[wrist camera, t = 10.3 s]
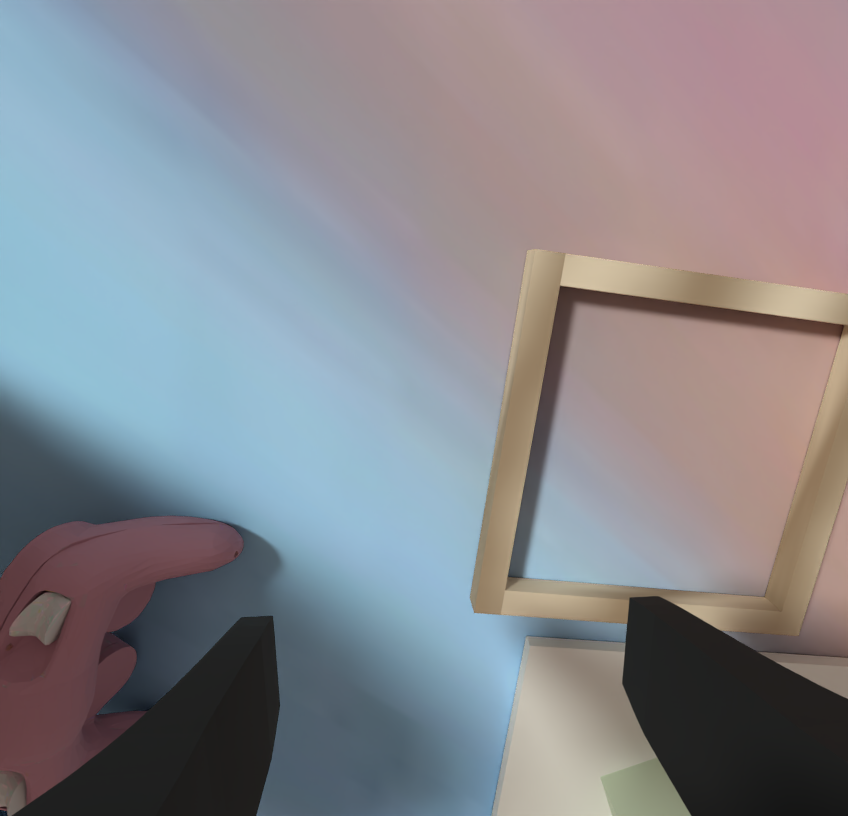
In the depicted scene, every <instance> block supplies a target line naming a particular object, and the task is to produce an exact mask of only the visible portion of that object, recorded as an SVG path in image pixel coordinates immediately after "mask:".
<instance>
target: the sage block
mask: <svg viewBox="0 0 848 816" xmlns="http://www.w3.org/2000/svg"><path fill="white" fill-rule="evenodd" d="M600 778H601V781H602V784H603V788H604V791H605V794H606V797H607V801H608V804H609V807H610V810H611V814H612V816H691V815H690V813H689V811H688V809H687V808H686V806H685V804H684V803H683V801H682V799H681V798H680V796H679V794H678V792H677V791H676V789H675V787H674V786H673V784H672V782H671V780H670V779H669V777H668V775H667V774H666V772H665V770H664V768H663V767H662V765H661V763H660V762H659V760H658V758H654V759H651V760H648V761H645V762H642V763H639V764H637V765H634V766H631V767H628V768H625V769H622V770H619V771H616V772H613V773H610V774H607V775H604V776H601V777H600Z"/></svg>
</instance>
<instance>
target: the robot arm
mask: <svg viewBox="0 0 848 816" xmlns="http://www.w3.org/2000/svg"><path fill="white" fill-rule="evenodd" d="M622 685H623V687H624V689H625V692H626V694H627V697H628V699H629V702H630V704H631V706H632V709H633V711H634V713H635V716H636V718H637V720H638V722H639V725H640V727H641V729H642V731H643V733H644V735H645V737H646V739H647V741H648V742H649V744H650V746H651V748H652V749H653V751H654V753H655V755H656V756H657V758H658V760H659V762H660V763H661V765H662V767H663V768H664V770H665V772H666V774H667V775H668V777H669V779H670V780H671V782H672V784H673V786H674V787H675V789H676V791H677V792H678V794H679V796H680V798H681V799H682V801H683V803H684V804H685V806H686V808H687V809H688V811H689V813H690V815H691V816H848V699H847V698H845V697H843V696H841V695H839V694H837V693H834V692H832V691H830V690H828V689H826V688H824V687H822V686H820V685H818V684H816V683H814V682H812V681H811V680H809V679H807V678H805V677H803V676H801V675H799V674H797V673H795V672H793V671H791V670H789V669H788V668H786V667H784V666H782V665H780V664H778V663H776V662H775V661H773V660H771V659H769V658H767V657H766V656H764V655H762V654H760V653H758V652H757V651H755V650H753V649H751V648H750V647H748V646H746V645H744V644H743V643H741V642H739V641H737V640H736V639H734V638H732V637H731V636H729V635H727V634H725V633H724V632H722V631H720V630H719V629H717V628H715V627H713V626H712V625H710V624H708V623H707V622H705V621H703V620H702V619H700V618H698V617H696V616H695V615H693V614H691V613H690V612H688V611H686V610H684V609H683V608H681V607H679V606H677V605H675V604H674V603H672V602H670V601H668V600H666V599H664V598H662V597H660V596H647V597H630V598H629V610H628V621H627V633H626V644H625V655H624V667H623V678H622ZM279 708H280V700H279V687H278V674H277V661H276V649H275V636H274V623H273V616H260V617H241V618H240V619H239V620H238V621H237V622H236V623H235V624H234V625H233V626H232V627H231V628H230V629H229V630H228V631H227V633H226V634H225V635H224V636H223V637H222V638H221V639H220V640H219V641H218V642H217V643H216V644H215V645H214V646H213V647H212V648H211V649H210V650H209V652H208V653H207V654H206V655H205V656H204V657H203V658H202V659H201V660H200V661H199V662H198V663H197V664H196V665H195V666H194V667H193V668H192V669H191V670H190V671H189V672H188V673H187V674H186V675H185V676H184V677H183V678H182V679H181V680H180V681H179V682H178V683H177V684H176V685H175V686H174V687H173V688H172V689H171V690H170V691H169V692H168V693H167V694H166V695H165V696H164V697H163V698H161V699H160V700H159V701H158V702H157V703H156V704H155V705H154V706H153V707H152V708H151V709H150V710H148V711H147V712H146V713H145V714H144V715H143V716H142V717H141V718H140V719H139V720H138V721H136V722H135V723H134V724H133V725H132V726H131V727H130V728H128V729H127V730H126V731H125V732H124V733H123V734H121V735H120V736H119V737H118V738H117V739H115V740H114V741H113V742H112V743H111V744H109V745H108V746H107V747H106V748H104V749H103V750H102V751H100V752H99V753H98V754H97V755H95V756H94V757H93V758H91V759H90V760H89V761H88V762H86V763H85V764H84V765H83V766H81V767H80V768H79V769H77V770H76V771H75V772H73V773H72V774H71V775H69V776H68V777H67V778H65V779H64V780H62V781H61V782H59V783H58V784H57V785H55V786H54V787H52V788H51V789H49V790H48V791H46V792H45V793H44V794H42V795H41V796H39V797H38V798H36V799H35V800H33V801H32V802H31V803H29V804H28V805H26V806H25V807H23V808H22V809H20V810H19V811H18V812H16V813H15V814H13V815H12V816H256V814H257V810H258V807H259V803H260V800H261V796H262V792H263V789H264V785H265V781H266V777H267V774H268V770H269V766H270V762H271V758H272V752H273V746H274V740H275V734H276V728H277V721H278V715H279Z"/></svg>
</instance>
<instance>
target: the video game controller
mask: <svg viewBox="0 0 848 816" xmlns="http://www.w3.org/2000/svg"><path fill="white" fill-rule="evenodd" d="M243 545H244V541H243V539H242V537H241V536H240V534H239V533H238V532H237V531H236V530H235V529H234V528H232V526H230V525H227V524H225V523H222V522H219V521H215V520H210V519H204V518H197V517H188V516H156V517H144V518H137V519H131V520H124V521H118V522H111V523H105V524H98V525H94V524H91V523H88V522H84V521H74V522H68V523H64V524H61V525H58V526H55V527H53V528H50V529H48V530H46V531H45V532H43V533H42V534H40V535H38V536H37V537H36V538H34V539H33V540H32V541H31V542H29V543H28V544H27V545H26V546H25V547H24V548H23V549H22V550H21V551H20V552H19V553H18V554H17V556H16V557H15V558H14V560H13V561H12V562H11V563H10V565H9V566H8V567H7V568H6V570H5V571H4V573H3V575H2V577H1V579H0V810H4V811H7V815H8V816H12V815H13V814H15V813H16V812H18V811H19V810H20V809H22V808H23V807H25V806H26V805H28V804H29V803H31V802H32V801H33V800H35V799H36V798H38V797H39V796H41V795H42V794H44V793H45V792H46V791H48V790H49V789H51V788H52V787H54V786H55V785H57V784H58V783H59V782H61V781H62V780H64V779H65V778H67V777H68V776H69V775H71V774H72V773H73V772H75V771H76V770H77V769H79V768H80V767H81V766H83V765H84V764H85V763H86V762H88V761H89V760H90V759H91V758H93V757H94V756H95V755H97V754H98V753H99V752H100V751H102V750H103V749H104V748H106V747H107V746H108V745H109V744H111V743H112V742H113V741H114V740H115V739H117V738H118V737H119V736H120V735H121V734H123V733H124V732H125V731H126V730H127V729H128V728H130V727H131V726H132V725H133V724H134V723H135V722H136V721H138V720H139V719H140V718H141V717H142V716H143V715H144V714H145V713H146V712H147V711H127V712H118V713H108V714H100V715H96V714H97V713H98V712H99V711H100V709H101V708H102V707H103V706H104V705H105V704H106V703H107V702H108V701H109V700H110V699H111V698H112V697H113V696H114V695H115V694H116V693H117V692H118V691H119V690H120V689H121V688H122V687H123V686H124V684H125V683H126V682H127V680H128V679H129V678H130V676H131V674H132V672H133V670H134V668H135V665H136V660H137V654H136V651H135V649H134V648H133V647H131V646H130V645H128V644H127V643H125V642H124V641H122V640H121V639H119V638H118V637H117V636H115V635H114V634H112V633H108V632H113V631H117V630H119V629H120V628H122V627H124V626H126V625H128V624H129V623H131V622H132V621H133V620H135V619H136V618H137V617H138V616H139V615H140V613H141V612H142V611H143V610H144V608H145V607H146V605H147V604H148V602H149V601H150V598H151V596H152V594H153V591H154V589H155V583H156V582H158V581H162V580H165V579H170V578H175V577H181V576H186V575H191V574H197V573H202V572H207V571H212V570H214V569H217V568H219V567H221V566H223V565H225V564H227V563H229V562H232V561H233V560H234V559H235V558H237V557H238V556H239V555H240V553H241V552H242V550H243ZM106 632H107V633H106Z"/></svg>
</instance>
